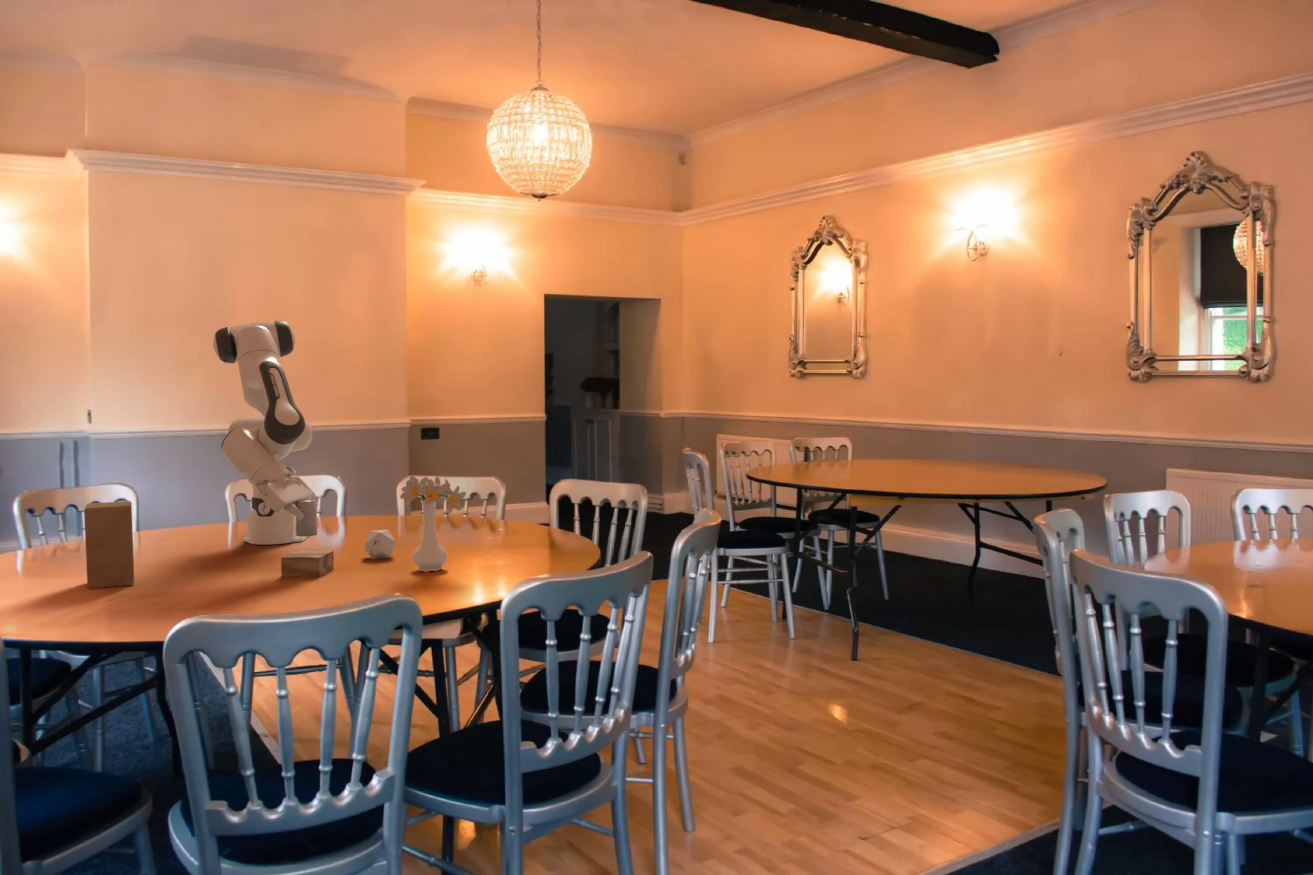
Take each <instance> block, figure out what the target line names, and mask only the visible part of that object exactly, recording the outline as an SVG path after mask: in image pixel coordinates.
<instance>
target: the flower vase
mask: <svg viewBox="0 0 1313 875" xmlns="http://www.w3.org/2000/svg"><path fill="white" fill-rule="evenodd" d="M444 478H445V479H444V480H445V481H444V483H442V484H441V479H440V477H439V476H435V477H434V480H433V479H431V478H429V477H428V476H426V477H423V478H421V479H420V480H419V479H418V478H416V477H415V476H413V475H410V477H409V479H408V480H406V483H405V486H403V487H402V488H401V491H402V493H401V494H400V497H399V498H400V500H401V499H402V500H405V499H406V502H405V506H406V507H408V506H409V505H410V503H412V501H413V500H415V499H416V498H417V497H421V499H420V503H421V506H422V511H423V534H422V539H421V541H420V544H419V546H418V547H417V548H416V549H415V550H414V552H413V553H412V556H411V560H412V562H413V563H414V564H415V566H416V567H418V568H417V569H418V571H419V572H421V571H424V573H430V572H429V571H436V572H438V571H437V570H440V569H443V566H444V565H445V564H446V563H447V562H448V559H449V554H448V552H447V551H446V549H445V548H444V547H443V546H442V545H441V543H440V542H439V539H438V535H437V525H436V511H437V510H436V509H437V504H439V505H443V504H444V503H445V501H446V502H447V503H448V507H447V513H448V514H451V513H452V512H453V509H455V510H457V512H459V511H461V510H462V503H461V502H460V500H462V499H464V498H465V497H466V495H467V492H466V491H462V492H461V491H460V486H459V485H457V486H456V487H455V488H454V490H452V489H451V484H450V483H449V481H448V479H447V478H446V477H444ZM459 491H460V492H459ZM444 500H445V501H444ZM440 571H441V570H440Z"/></svg>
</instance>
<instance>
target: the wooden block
mask: <svg viewBox="0 0 1313 875" xmlns="http://www.w3.org/2000/svg"><path fill="white" fill-rule="evenodd" d="M132 506H133V505H132V501H129V500H128V501H127V500H125V501H109V502H107V501H106V502H89V503H87V504H86V506H85V508H84V510H83V512H84V529H85V530H84V531H85V532H84V533H85V555H86V556H85V558H86V559H85V561H86V580H87V581H86V583H87V584H86V585H87V589H88V590H95V589H94V588H97V589H104V588H105V587H108V588H116V587H127V586H128V587H129V586H133V585H134V584H135V567H134V566H135V565H134V564H135V563H134V562H135V559H134V536H133V535H134V534H133V533H134V532H133V511H132V510H133V509H132V508H133V507H132ZM105 589H106V588H105Z"/></svg>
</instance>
